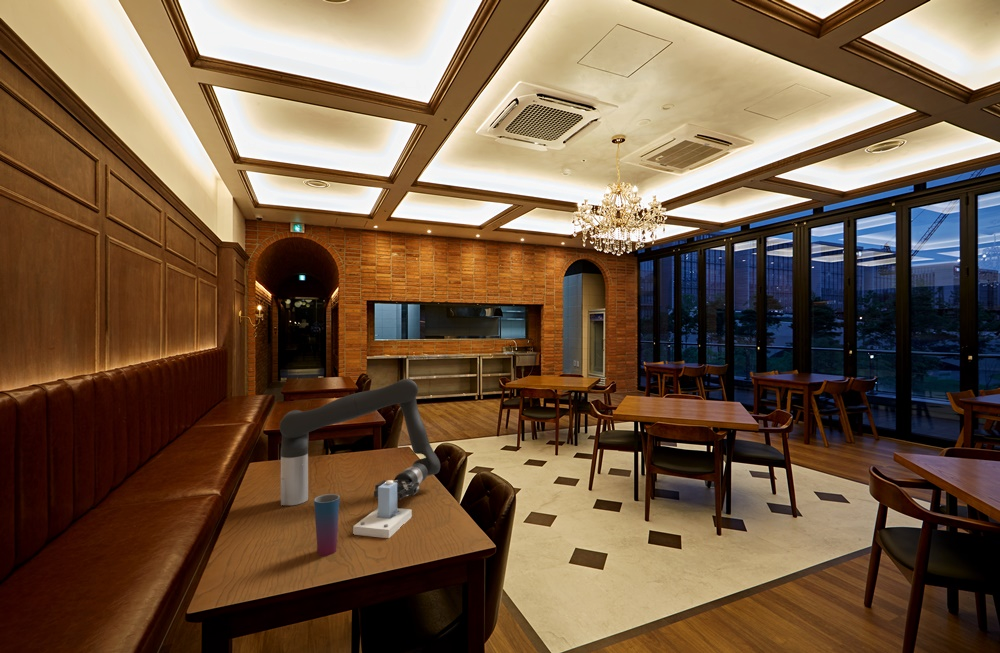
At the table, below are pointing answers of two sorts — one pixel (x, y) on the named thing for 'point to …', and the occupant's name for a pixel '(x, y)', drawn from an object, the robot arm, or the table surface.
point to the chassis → (381, 524)
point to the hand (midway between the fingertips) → (387, 495)
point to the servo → (387, 500)
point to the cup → (326, 523)
